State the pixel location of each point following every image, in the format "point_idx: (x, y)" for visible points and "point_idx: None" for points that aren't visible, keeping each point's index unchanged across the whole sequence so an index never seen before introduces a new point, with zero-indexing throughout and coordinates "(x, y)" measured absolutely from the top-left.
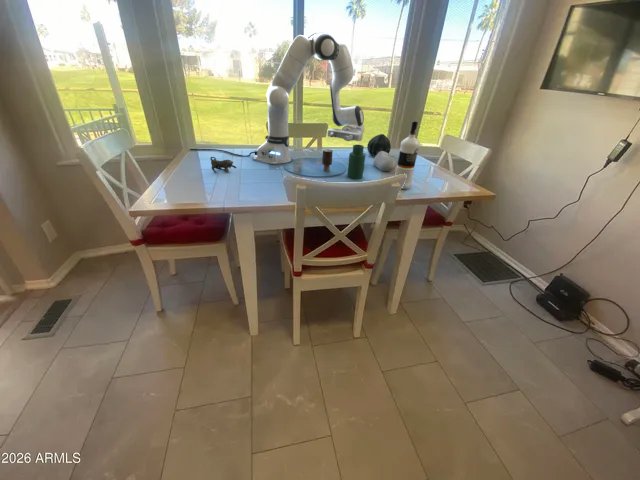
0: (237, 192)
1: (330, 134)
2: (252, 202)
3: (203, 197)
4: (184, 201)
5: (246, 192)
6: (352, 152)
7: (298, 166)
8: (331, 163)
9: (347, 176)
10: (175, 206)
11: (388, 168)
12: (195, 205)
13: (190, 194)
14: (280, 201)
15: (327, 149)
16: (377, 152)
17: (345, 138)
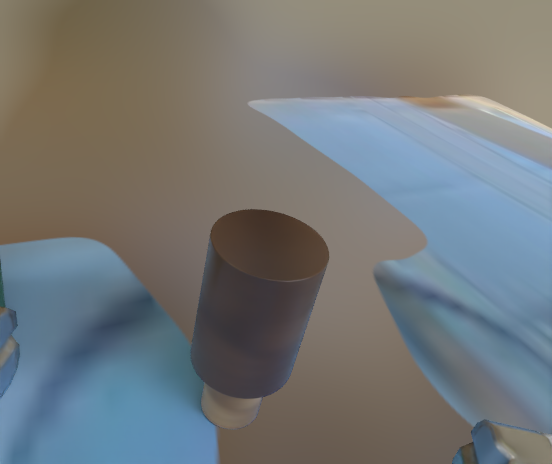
0: (416, 138)
1: (547, 439)
2: (332, 108)
3: (452, 121)
4: (460, 111)
5: (396, 139)
6: None
7: None
8: (192, 343)
9: None
10: (449, 101)
11: None
12: (424, 102)
13: (491, 129)
14: (268, 110)
15: (290, 269)
16: None
17: (11, 346)
